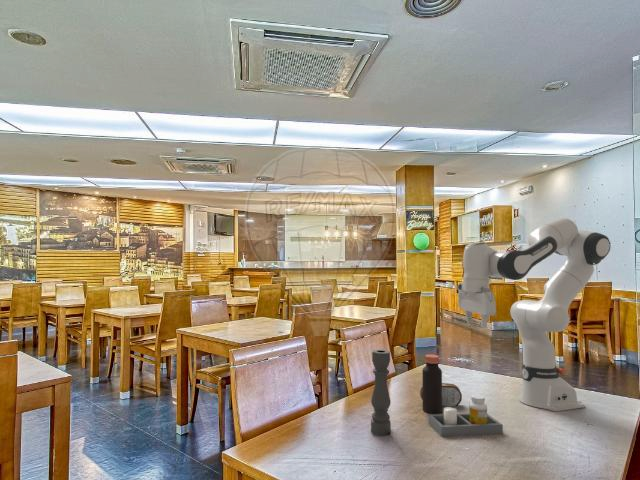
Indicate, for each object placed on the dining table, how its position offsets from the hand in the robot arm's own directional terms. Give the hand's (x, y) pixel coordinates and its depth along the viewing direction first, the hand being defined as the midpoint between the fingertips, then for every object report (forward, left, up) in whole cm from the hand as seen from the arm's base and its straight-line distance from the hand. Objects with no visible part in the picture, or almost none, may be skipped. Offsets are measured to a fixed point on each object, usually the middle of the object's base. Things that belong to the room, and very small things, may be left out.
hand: (476, 325), depth 146 cm
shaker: (+17, +14, -30) cm, 37 cm away
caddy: (+12, +14, -31) cm, 36 cm away
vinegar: (+16, -2, -31) cm, 35 cm away
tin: (+10, -8, -31) cm, 34 cm away
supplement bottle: (+7, +14, -30) cm, 34 cm away
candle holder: (+39, +12, -31) cm, 51 cm away
